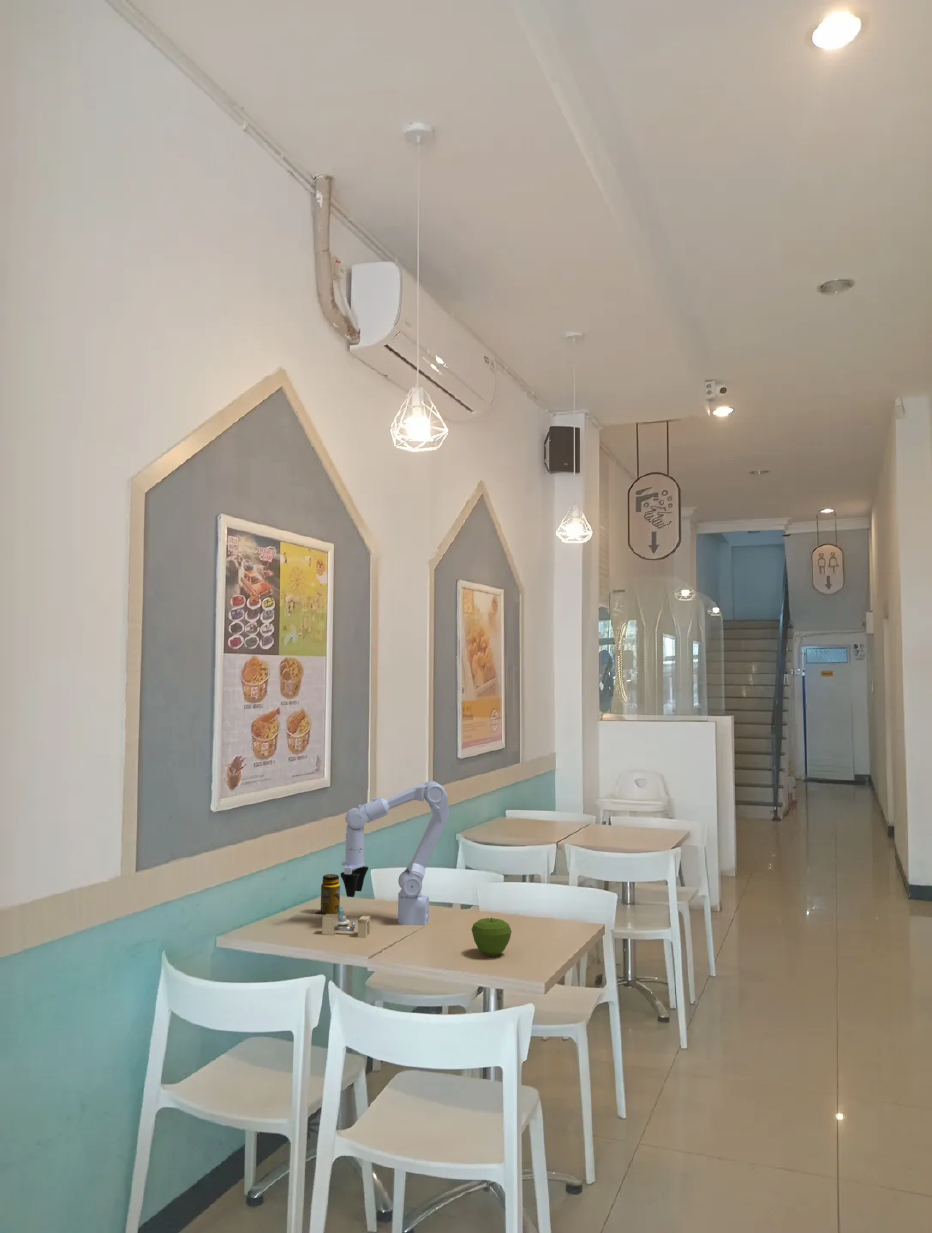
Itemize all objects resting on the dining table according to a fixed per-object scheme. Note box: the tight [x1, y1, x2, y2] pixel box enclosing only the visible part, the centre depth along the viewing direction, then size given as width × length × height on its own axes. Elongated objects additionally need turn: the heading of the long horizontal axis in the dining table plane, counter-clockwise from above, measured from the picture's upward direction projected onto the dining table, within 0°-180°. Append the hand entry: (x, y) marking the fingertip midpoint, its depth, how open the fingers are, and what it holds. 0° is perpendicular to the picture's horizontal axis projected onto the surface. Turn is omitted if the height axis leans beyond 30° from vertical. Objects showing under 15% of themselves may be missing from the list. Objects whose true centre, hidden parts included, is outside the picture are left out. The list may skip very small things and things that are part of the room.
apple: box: [471, 917, 513, 957], centre depth 247 cm, size 11×10×10 cm
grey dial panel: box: [338, 915, 372, 939], centre depth 267 cm, size 15×15×6 cm
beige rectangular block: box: [321, 914, 356, 936], centre depth 263 cm, size 9×4×5 cm, turn 80°
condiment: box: [311, 873, 341, 916], centre depth 289 cm, size 7×8×12 cm
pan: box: [338, 906, 351, 926], centre depth 274 cm, size 8×4×3 cm, turn 13°
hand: (354, 893), depth 274 cm, fingers open, 7 cm apart
